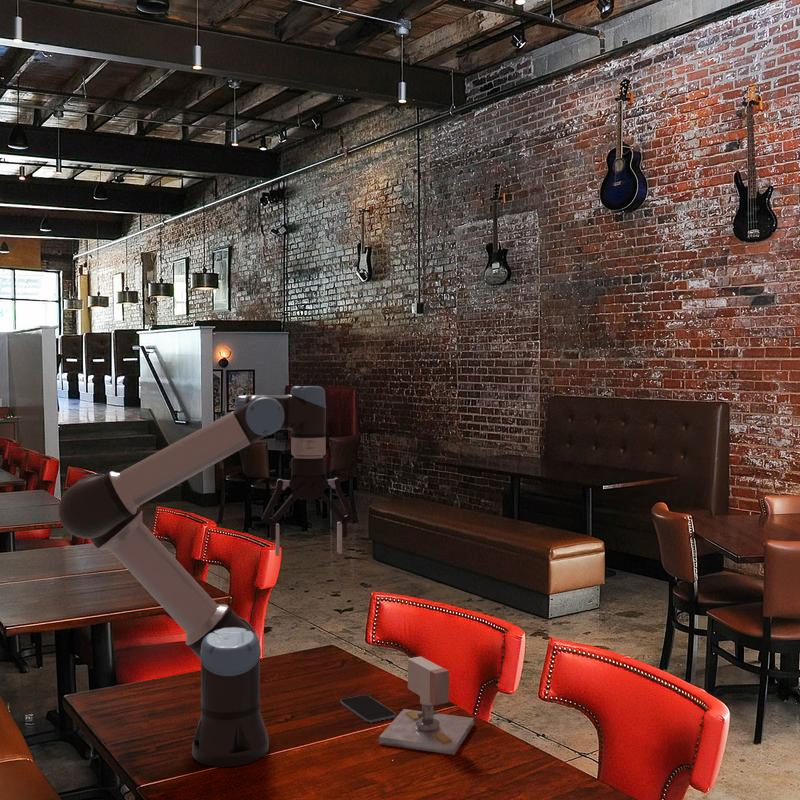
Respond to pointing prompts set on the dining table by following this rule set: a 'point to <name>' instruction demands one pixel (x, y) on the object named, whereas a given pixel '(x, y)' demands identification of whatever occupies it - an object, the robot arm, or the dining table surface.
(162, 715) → the dining table surface
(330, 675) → the dining table surface
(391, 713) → the smartphone
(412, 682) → the grey rectangular block
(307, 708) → the dining table surface
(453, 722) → the socket
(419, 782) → the dining table surface
